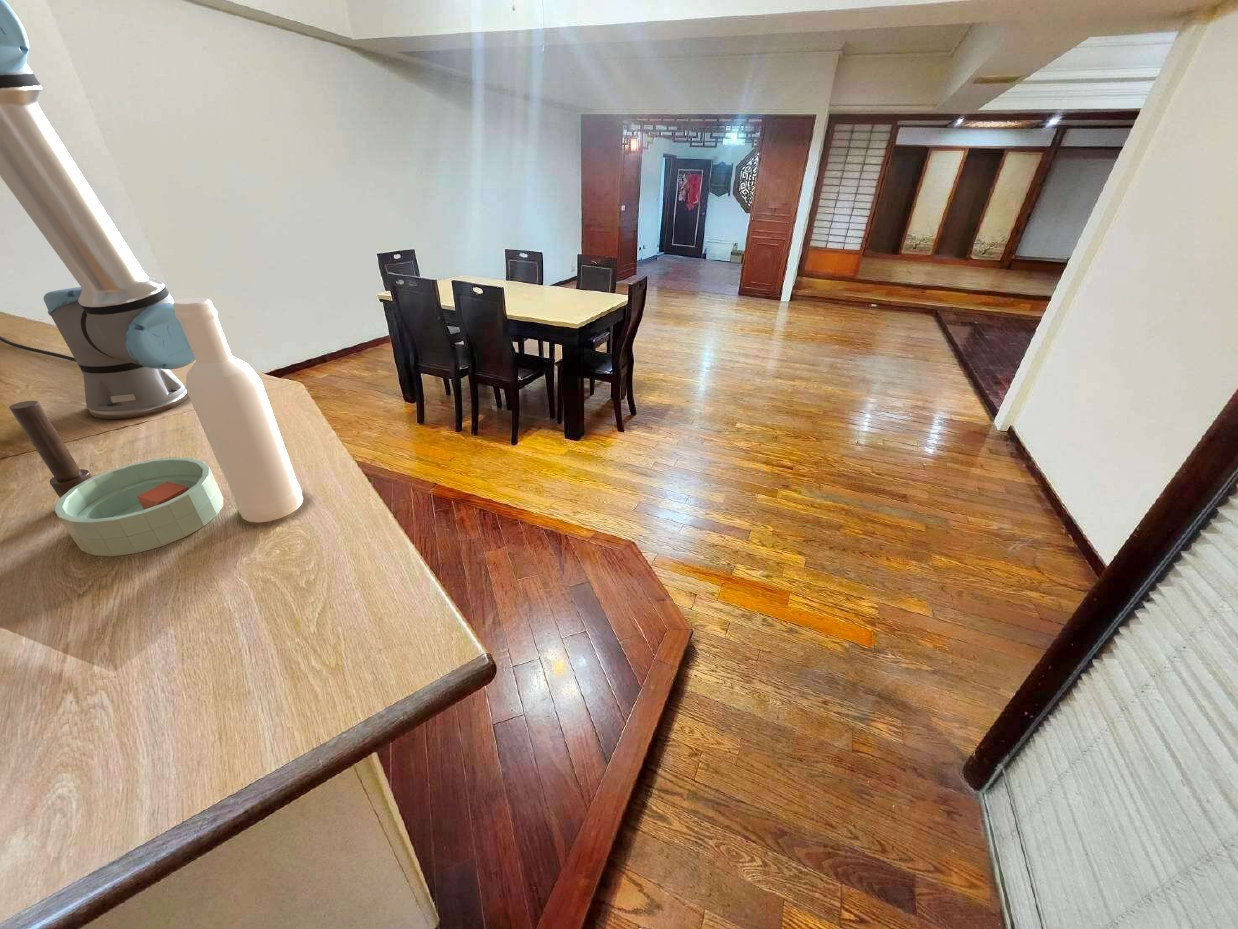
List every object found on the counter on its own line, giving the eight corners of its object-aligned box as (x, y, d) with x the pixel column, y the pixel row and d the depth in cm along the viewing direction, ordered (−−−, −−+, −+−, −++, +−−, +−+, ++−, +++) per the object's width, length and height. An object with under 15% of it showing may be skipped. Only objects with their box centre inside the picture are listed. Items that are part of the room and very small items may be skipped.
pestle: (65, 506, 71) (-2, 404, 63) (102, 494, 74) (42, 395, 66) (71, 516, 69) (3, 413, 61) (109, 504, 72) (48, 404, 64)
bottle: (311, 510, 73) (239, 303, 57) (249, 533, 68) (152, 312, 52) (295, 488, 77) (225, 290, 62) (236, 507, 73) (143, 298, 57)
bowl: (67, 525, 68) (43, 489, 65) (202, 479, 78) (187, 446, 75) (96, 577, 60) (70, 539, 57) (242, 518, 71) (227, 483, 67)
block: (149, 519, 68) (136, 496, 66) (179, 504, 72) (167, 481, 70) (170, 526, 68) (157, 502, 65) (199, 509, 71) (188, 486, 69)
